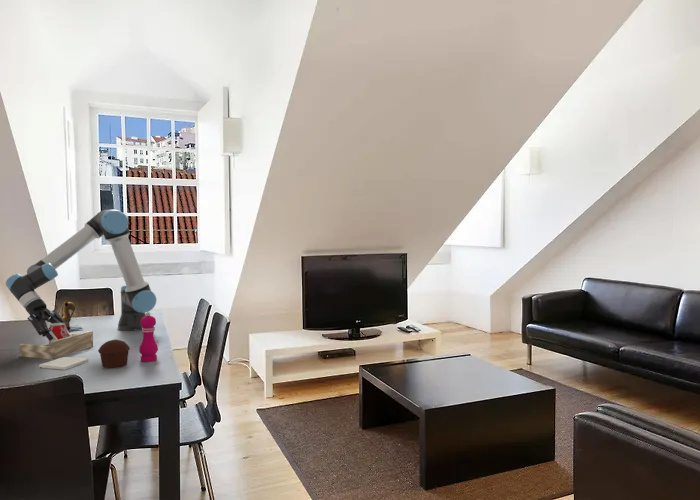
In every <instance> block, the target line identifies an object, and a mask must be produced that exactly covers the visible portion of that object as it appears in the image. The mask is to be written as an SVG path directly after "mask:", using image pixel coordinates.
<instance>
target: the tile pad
mask: <svg viewBox="0 0 700 500" xmlns="http://www.w3.org/2000/svg"><path fill="white" fill-rule="evenodd" d="M88 362H89V359H88V358H83V357H82V358H81V357H79V358H78V357H69V356H67V357H66V356H63V357H62V356H61V357H58V358H55V359H52V360H50V361H48V362H44V363H40V364H39V365H38V366H39V368H40V367H42V368H43V369H52V370H53V369H54V370H64V371H65V370H68V369H72V368H74V367H76V366H80V365H82V364H85V363H88ZM42 368H41V369H42Z"/></svg>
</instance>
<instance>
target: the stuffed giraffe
mask: <svg viewBox="0 0 700 500" xmlns="http://www.w3.org/2000/svg"><path fill="white" fill-rule="evenodd" d="M63 305H64V308H63V312H64V315H63V316H61V317H62V318H63V319H64V320H65V321H66V322H67V323H68V326H67V329H68V331H69V332H72V331H73V332H74V331H80V330H83V327H82V326H80V325H79V326H80V327H79V326H77V325H78V324H76V325H72V326H70V322H71V320H72V317H71V312H70V311H74V312H75V310H76V306H75V304H74V302H72V301H67V300H66V299H64V302H63ZM48 330H49V327H48Z"/></svg>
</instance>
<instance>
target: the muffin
mask: <svg viewBox="0 0 700 500" xmlns="http://www.w3.org/2000/svg"><path fill="white" fill-rule="evenodd" d="M130 349H131V348H130V346H129V344H128V343H127V341H124V340H121V339H111V340H107V341H105V342H104V343H103V344H101V345H100V346H99V349H98V350H97V351H98V353H99V356H100V360H101V367H102V368H103V369H108V370H110V369H111V370H112V369H121V368H123V367H126V366H127V365H128V359H129V351H130Z"/></svg>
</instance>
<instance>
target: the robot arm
mask: <svg viewBox="0 0 700 500" xmlns="http://www.w3.org/2000/svg"><path fill="white" fill-rule="evenodd" d="M130 233H131V231H130V230H129V218H128V216H127V215H126V214H125V213H124V212H123V211H121V210H119V209H115V208H114V209H105V210H104V209H103V210H101V211H99V212H98V213H96V214H95V215H94V216H93V217H91V219H89V220H87V222H86V223H84V227H83V228H81V229H80V230H78V231H77V232H76V233H75V234H73V235H72V236H71V237H69V238H68V239H67V240H65V241H64V242H63V243H61V244H59V246H58V247H56V248H54V249H53V250H52V251H50V252H49V253H48V254H47V255H45V256H44V257H42V258H41V259H40V260H38V261H37V262H36V263H34V264H32V265H30V266H29V267H28V268H27V270H26V274H24V275H22V273H15V274H12V275H11V276H9V277H8V278H7V279H6V280H5V286H6V288H7V289H8V290H9V292H10V293H11V294H12V295H13V296H14V297H15V299H16V300H17V301H18V302H19V304H20V305H21V306H22V307H23V308H24V310H25V312H26V313H27V314H28V317H27V320H28V321H29V322H30V323H31V324H32V326H33V328H34V329H35V330H36V332H37V334H38V335H39V336H42V337H44V338H45V337H46V339H48V341H49V340H50V341H51V342H52V341H56V340H58V339H57V338H56V336H55V335H54V334H53V333H52V331H50V332H49V330H48V328H49V327H48V324H47V322H48V323H50V324H52V323H65V325H66V327H67V326H68V323H67V322H66V321H65V320H64V319H63V318H62V317H63V316H61V315H60V314H59V313H58V312H57V310H56V309H53V310H51V309H49V308H47V304H46V303H45V301H44V300H43V299H42V297H41V296H40V295H39V294H38V293H37V292H36V291H35V290H36V289H38V288H39V287H42V286H43V285H45V284H47V283H48V282H51V281H52V280H54V279H55V278H57V277H58V275H59V274H58V271H57V269H58V268H59V267H60V266H61V265H63V264H65V262H67V261H68V260H69V259H71V258H72V257H73V256H75V255H76V254H78V252H80V251H81V250H83V249H84V248H85V247H87V245H89V244H90V243H91V242H93V241H94V240H95V239H100V238H102V237H104V239H105V240H106V241H107V242H109V243H110V245H111V249H112V251H113V254H114V256H115V260H116V262H117V264H118V267H119V269H120V272H121V273H120V274H121V275H122V277H123V281H124V284H125V285H122V286H121V287H120V307H121V308H120V309H121V310H120V312H121V313H120V317H119V321H118V323H117V329H118V330H119V331H135V329H139V330H142V328H143V327H142V326H141V324H140V321H141V319H142V318H143V317H144V316H146V313H147V312H150V311H152V310H153V309H154V308H155V306H156V305H157V297H156V296H157V295H156V294H155V292H153V291H152V289H151V287H150V283H149V282H147V281H145V280H144V277H143V274H142V272H141V268H140V266H139V263H138V261H137V258H136V255H135V252H134V249H133V247H132V245H131V241H130V239H129V236H130ZM70 333H71V331H68V329H67V337H70V336H72V335H71V334H70Z"/></svg>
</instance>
